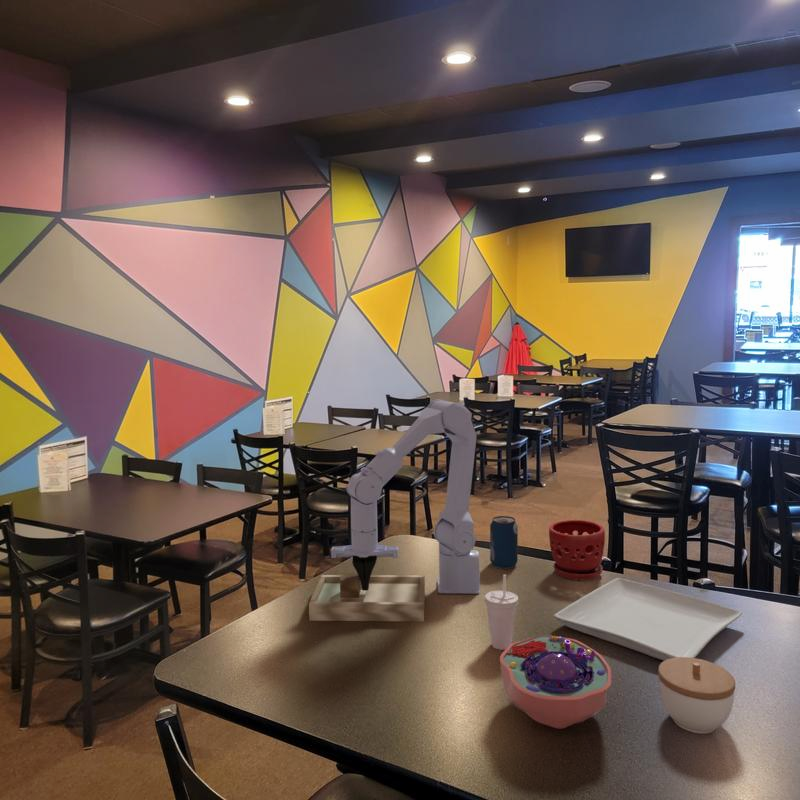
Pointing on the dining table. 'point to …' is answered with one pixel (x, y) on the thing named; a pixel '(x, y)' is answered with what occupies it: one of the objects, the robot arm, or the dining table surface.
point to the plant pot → (577, 548)
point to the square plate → (648, 618)
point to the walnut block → (350, 585)
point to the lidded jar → (696, 693)
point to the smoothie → (501, 616)
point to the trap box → (370, 600)
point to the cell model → (555, 679)
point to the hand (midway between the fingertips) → (365, 588)
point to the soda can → (503, 542)
